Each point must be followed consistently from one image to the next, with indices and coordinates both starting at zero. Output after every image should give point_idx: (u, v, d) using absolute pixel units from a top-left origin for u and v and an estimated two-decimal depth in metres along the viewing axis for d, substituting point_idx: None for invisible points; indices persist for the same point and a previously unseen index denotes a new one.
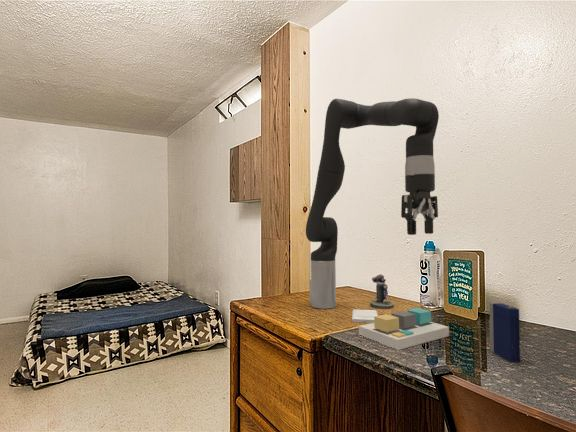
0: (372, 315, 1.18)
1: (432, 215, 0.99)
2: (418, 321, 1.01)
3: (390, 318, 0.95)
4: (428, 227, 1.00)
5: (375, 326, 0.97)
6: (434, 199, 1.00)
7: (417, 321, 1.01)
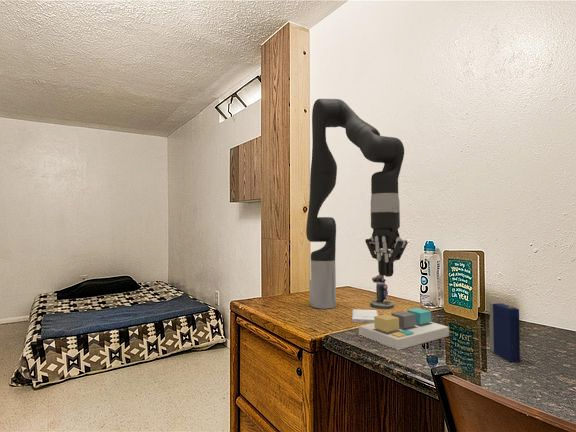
0: (372, 315, 1.18)
1: None
2: (418, 321, 1.01)
3: (390, 318, 0.95)
4: (384, 269, 0.97)
5: (375, 326, 0.97)
6: None
7: (417, 321, 1.01)
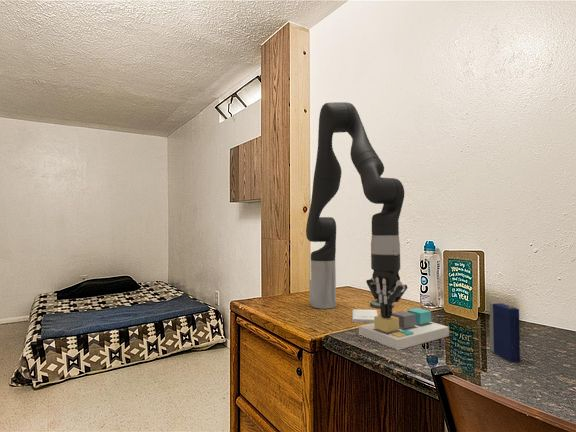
0: (372, 315, 1.18)
1: None
2: (418, 321, 1.01)
3: (390, 318, 0.95)
4: None
5: (375, 326, 0.97)
6: None
7: (417, 321, 1.01)
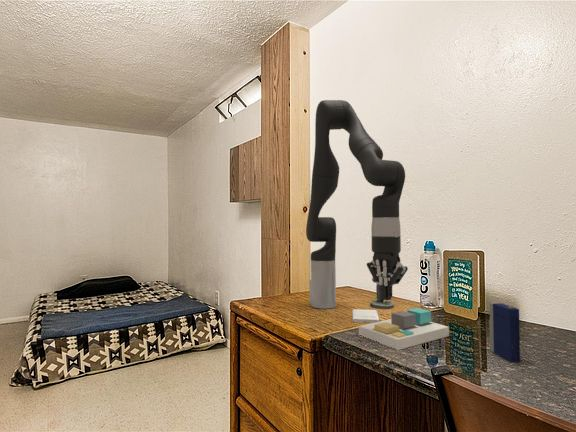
0: (372, 315, 1.18)
1: None
2: (418, 321, 1.01)
3: (390, 326, 0.95)
4: None
5: None
6: None
7: (417, 321, 1.01)
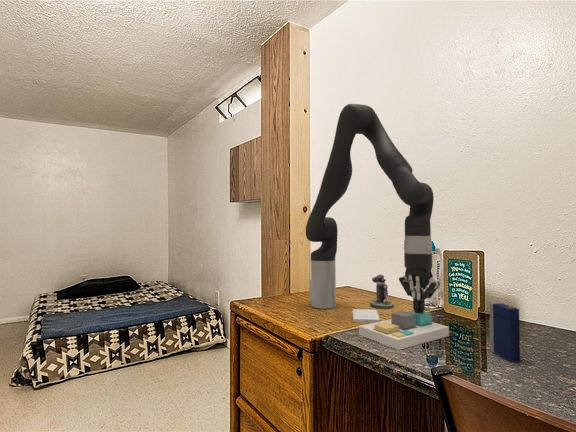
0: (373, 315, 1.18)
1: None
2: (418, 323, 1.01)
3: (390, 326, 0.95)
4: None
5: None
6: None
7: (417, 323, 1.01)
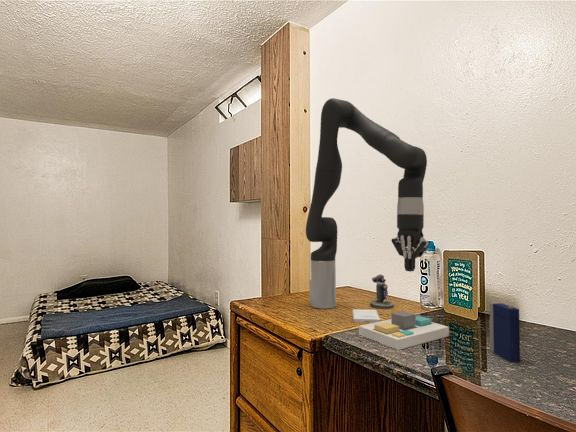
0: (373, 315, 1.18)
1: None
2: None
3: (390, 326, 0.95)
4: None
5: None
6: None
7: None
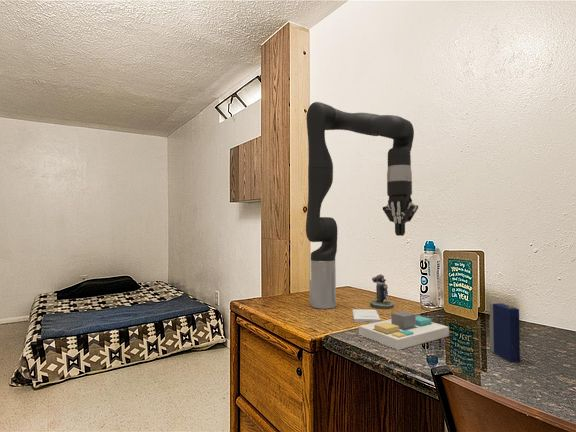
0: (373, 315, 1.18)
1: None
2: None
3: (390, 326, 0.95)
4: None
5: None
6: None
7: None
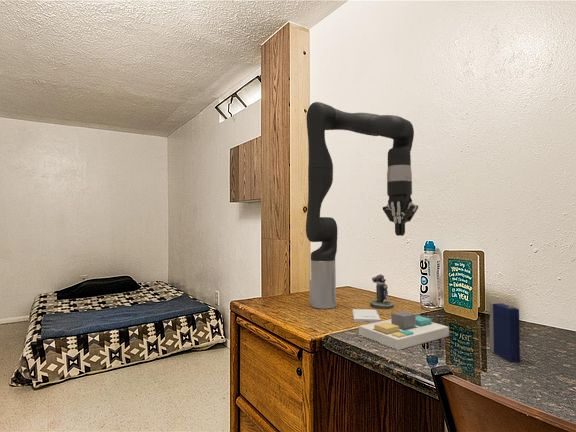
0: (373, 315, 1.18)
1: None
2: None
3: (390, 326, 0.95)
4: None
5: None
6: None
7: None
